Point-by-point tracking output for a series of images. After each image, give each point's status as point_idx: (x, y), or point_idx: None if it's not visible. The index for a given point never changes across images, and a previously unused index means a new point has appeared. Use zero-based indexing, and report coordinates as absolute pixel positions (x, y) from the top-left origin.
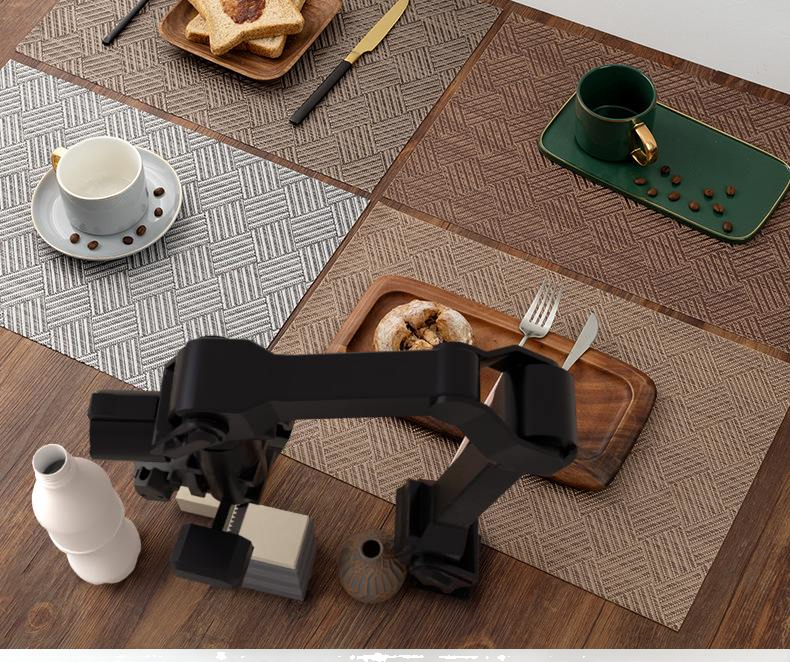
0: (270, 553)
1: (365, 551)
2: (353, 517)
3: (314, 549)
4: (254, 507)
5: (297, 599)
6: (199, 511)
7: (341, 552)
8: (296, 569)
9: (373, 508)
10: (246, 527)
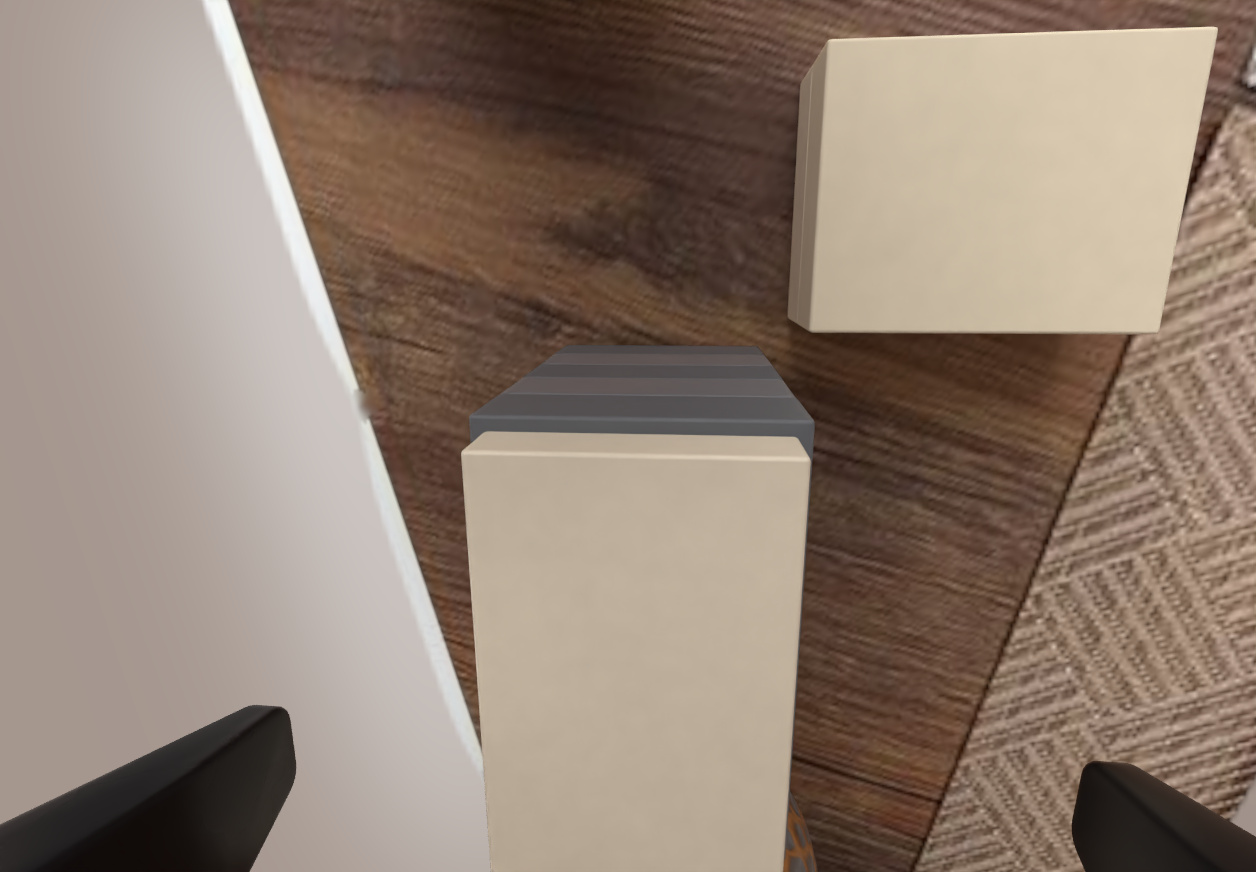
0: (516, 772)
1: None
2: (876, 697)
3: None
4: (773, 627)
5: None
6: (801, 170)
7: None
8: None
9: (917, 748)
10: (633, 611)
